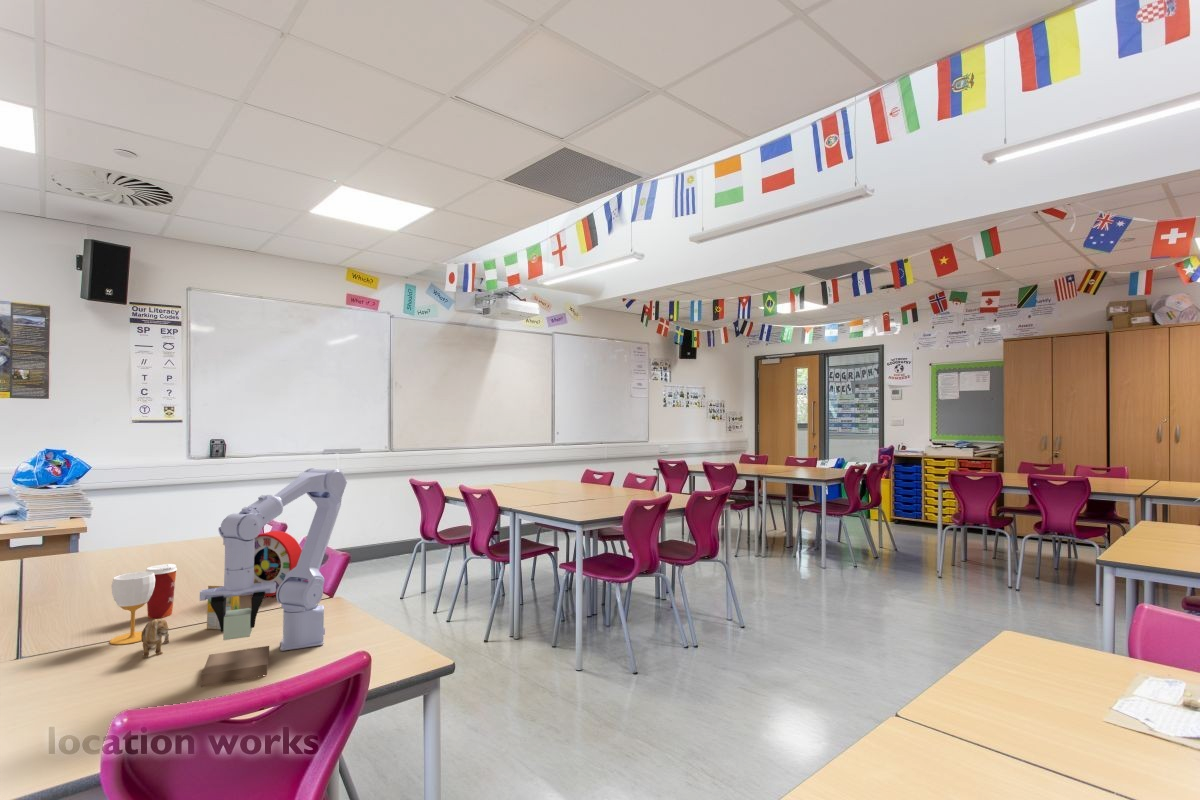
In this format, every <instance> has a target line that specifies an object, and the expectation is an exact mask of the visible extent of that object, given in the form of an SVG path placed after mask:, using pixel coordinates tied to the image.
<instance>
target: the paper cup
mask: <svg viewBox="0 0 1200 800" xmlns="http://www.w3.org/2000/svg"><path fill="white" fill-rule="evenodd" d="M177 570H178V568H177V565H176V564H174V563H163V564H156V565H152V566H148V567H146V570H145V572H153V573H154V574H155V587H154V590H153V593H152V595H151V597H150V599H149V601H148V602H147V603H146V608H147V609H146V610H147V617H148V619H152V620H155V619H163V618H167V617H169V616H171V615H172V614H173V609H174V608H173V607H174V598H175V588H176V576H177Z"/></svg>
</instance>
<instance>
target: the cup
mask: <svg viewBox="0 0 1200 800" xmlns="http://www.w3.org/2000/svg"><path fill="white" fill-rule="evenodd" d="M154 587H155V574H154V573H153V572H146V571H137V572H136V571H134V572H129V573H123V574H120V575H116V576H114V577H113V578H112V581H111V594H112V597H113V601H114V602H115V604H116V605H117V606H118V607H120V608H121V609H122V610H124V611H129V612H130V632H129V633H123V634H121V635H117V636H115V637H113V638H111V639H110V640H109V644H110V645H114V646H115V645H116V646H117V645H118V646H122V645H131V644H136V643H142V640H141V635H142V631H143V630H142V631H141V630H140V631H136V630H135V624H136V611H137V610H138V609H140V608H143V607H144V606H145V605H147V602H148V601H149V599H150V597H151V595H152V593H153V590H154Z"/></svg>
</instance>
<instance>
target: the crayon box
mask: <svg viewBox="0 0 1200 800" xmlns="http://www.w3.org/2000/svg"><path fill="white" fill-rule="evenodd" d="M218 587H224V585H208V586H207V589H212V588H218ZM210 603H211V599H207V608H206V610H207V611H206V612H207V613H206V629H207V630H221V628H220V624H219V621H218V618H217V616H216V613H215V612H214V610H213V608H212V607H211V604H210ZM238 609H240V596H233V597H227V598H226V612H227V611H229V610H238Z"/></svg>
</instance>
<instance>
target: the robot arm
mask: <svg viewBox="0 0 1200 800" xmlns="http://www.w3.org/2000/svg"><path fill="white" fill-rule="evenodd" d="M346 479H347V478H346V477H345V475H344V472H343V471H342V470H341V469H337V468H334V469H329V468H328V469H325V468H324V469H322V468H307V469H306V470H304V471H303V472H300V473H299V474H298V477H297V478H296V479H295V480H293V481H292V482H290V483H289V484H287V485H286V486H285V487H284V488H282V489H281V490H279V491H278V492H277V493H276V494H274V495H272V494H265V495H264V494H261V495H259V496H258V497H257V500H256V501H255V502H253V503H251V504H250V505H248V506H244V507H243V508H241V510H240V511H239V512H238V513H234V512H233V513H230V514H228V515H227V516H226V517H225V518H224V519H223V520H222V521H221V524H220V527H218V534H219V535H220V537H221V538H222V540H223V542H222V543H223V544H222V545H223V546H224V569H223V570H224V573H223V574H224V575H223V586H224V587H218V588H212V589H208V588H206V589H201V590H200V591H199V602H204V601H206V600H208V599H211V603H210V604H211V607H212V608H213V610H214V612H215V613H216V616H217V618H218V621H219V624H220V628H221V629H220V632H221V633H222V632H224V616H225V614H226V598H227V597H233V596H239V597H240V596H249V595H252V596H251V598H250V602H251V604H250V605H251V607H250V608H251V628H252V629H253V628H255V626H256V619H257V615H258V612H259V611H260V610H259V609H260V607H261V605H262V603H263V601H264V599H265V598H266V597H265V593H269V592H270V593H275V592H276V582H273V583H254V545H255V538H256V537H257V536H258V535H259V534H261V531H262V528H264V527H265V526H266V525H268V523H270V522H271V521H274V519H276V518H277V517H279V516H280V515H282V513H283V510H284V507H285V506H287V505H288V504H291V502H292V503H293V501H295V500H297V499H299V498H300V497H302V496H304V495H305V494H306V495H307V496H308V497H309V498H310V499H311V501H313V502H314V503H315V505H316V510H315V512H314V515H313V519H312V521H311V524H310V527H309V530H308V533H307V536H306V538H305V540H304V544H303V547H302V548H301V549H302V552H301V555H300V558H299V560H298V563H297V566H296V567H295V568H293V569H292V570H291V571H289V572H288V573H287V574H286V576H285V578H284V580H283V582H282V583H281V584H280V585H279V587H278V589H277V593H276V595H275V597H276V598H275V599H276V601H277V603H279V605H281V609H282V610H283V615H282V616H283V617H282V618H283V619H282V639H281V642H280V646H279V647H280V648H279V651H281V652H283V651H288V650H289V651H291V650H296V649H303V648H309V647H316V646H317V647H318V646H322V645H324V636H325V635H326V627H325V626H324V625H325V624H324V622H325V621H324V620H325V616H324V615H325V614H324V613H325V611H324V610H325V605H324V604H320V602H321V601H322V599H323V596H324V584H325V581H326V579H325V578H324V576H323V575H322V573H321V572H320V568H321V566H322V564H323V563H322V562H323V559H324V557H325V554H326V551H327V548H328V545H329V541H330V540H331V535H332V532H333V530H334V526H335V524H336V521H337V518H338V516H339V512H340V509H341V507H342V499H343V496H344V492H345V489H346V486H347V483H348V482H347V480H346ZM319 604H320V605H319Z"/></svg>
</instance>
